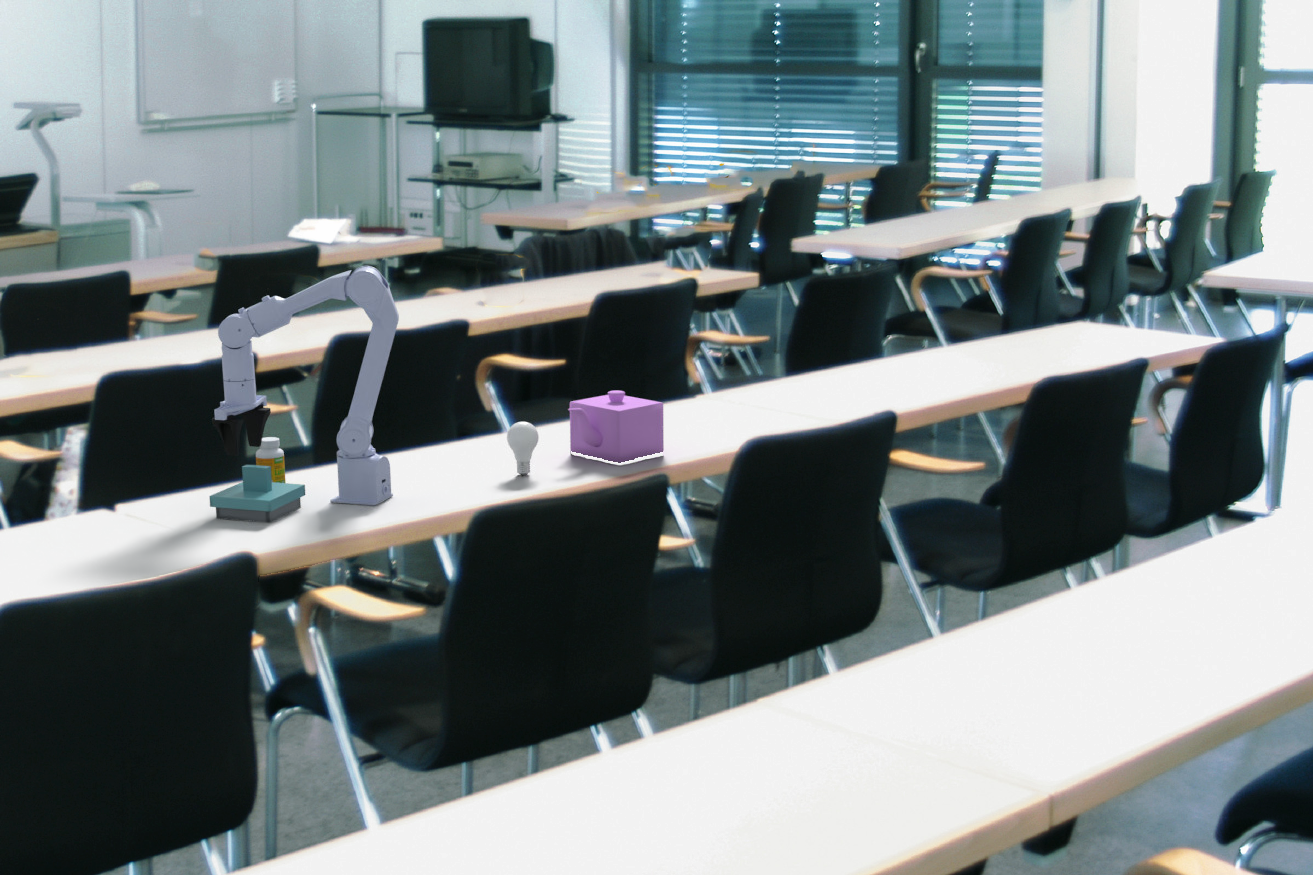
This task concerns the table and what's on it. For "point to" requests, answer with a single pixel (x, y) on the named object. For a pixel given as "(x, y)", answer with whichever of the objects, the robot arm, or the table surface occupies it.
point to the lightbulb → (522, 444)
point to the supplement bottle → (272, 458)
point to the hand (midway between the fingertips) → (244, 450)
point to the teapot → (616, 427)
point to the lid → (257, 491)
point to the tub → (257, 513)
